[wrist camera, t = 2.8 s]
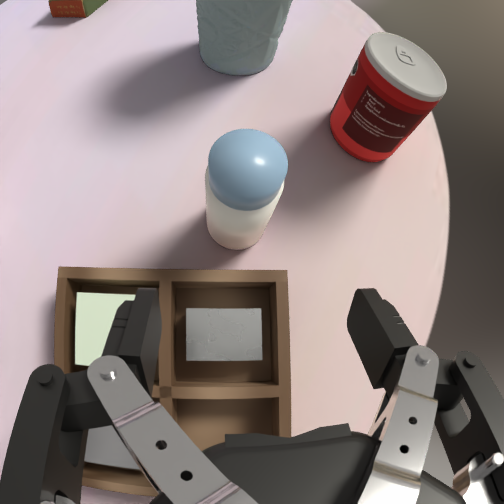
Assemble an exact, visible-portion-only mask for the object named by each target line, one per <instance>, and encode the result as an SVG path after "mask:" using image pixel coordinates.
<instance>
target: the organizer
mask: <svg viewBox="0 0 504 504" xmlns="http://www.w3.org/2000/svg"><path fill="white" fill-rule="evenodd" d="M138 288H157V290H158V295H159V303H160V311H161V319H162V332H161V339H160V345H159V351H158V357H157V364H156V370H155V377H154V384H153V391H152V400H153V401H154V402H155V403H156V402H159V403H160V404H161V405H162V406H163V407H164V408H165V410H166V411H167V412H168V413H169V414H170V416H171V417H172V418H173V419H174V421H175V422H176V423H177V424H178V425H179V427H180V428H181V429H182V430H183V431H184V432H185V434H186V435H187V436H188V437H189V438H190V439H191V440H192V442H193V443H194V444H195V445H196V446H197V447H198V448H199V449H200V450H201V451H203V450H204V449H206V448H209V447H211V446H213V445H216V444H219V443H223V442H225V434H247V433H259V434H266V435H273V436H280V437H289V438H290V437H291V371H290V331H289V302H288V277H287V270H193V269H134V268H92V267H59V268H58V278H57V290H56V305H55V329H54V365H56V366H58V367H60V368H61V369H62V370H63V372H64V374H67V373H74V372H80V371H84V370H87V369H88V367H89V366H86V365H78V364H75V326H76V302H77V292H82V293H103V294H127V295H136V293H137V290H138ZM186 308H209V309H252V308H261V321H262V360H249V361H187V359H186ZM82 485H83V486H87V487H92V488H97V489H103V490H108V491H114V492H121V493H128V494H135V495H144V496H154V497H156V496H157V495H158V492H157V491H156V490H155V489H154V487H153V486H152V485H151V483H150V482H149V481H148V479H147V478H146V477H145V475H144V474H143V472H142V471H141V470H140V469H131V468H123V467H116V466H109V465H103V464H97V463H92V462H86V461H84V468H83V477H82Z"/></svg>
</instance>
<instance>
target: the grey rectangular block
mask: <svg viewBox="0 0 504 504" xmlns="http://www.w3.org/2000/svg"><path fill="white" fill-rule="evenodd" d="M186 359H187V361H249V360H262V321H261V308H252V309H209V308H186Z"/></svg>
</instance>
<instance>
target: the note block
mask: <svg viewBox="0 0 504 504" xmlns="http://www.w3.org/2000/svg"><path fill="white" fill-rule="evenodd" d="M135 296H136V295H127V294H103V293H82V292H77V302H76V326H75V364H78V365H86V366H89V365H90V364H91V363H92V362H93V361H94V360H96V359H97V358H99V357H101V355H102V352H103V349H104V346H105V343H106V340H107V337H108V334H109V331H110V328H111V325H112V322H113V320H114V317H115V314H116V311H117V308H118V307H119V306H120V305H121V304H122V303H123V302H124V301H125V300H132V301H134V299H135Z"/></svg>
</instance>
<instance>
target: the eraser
mask: <svg viewBox="0 0 504 504" xmlns="http://www.w3.org/2000/svg"><path fill="white" fill-rule="evenodd" d="M84 461H86V462H92V463H97V464H103V465H109V466H116V467H123V468H131V469H140V468H139V467H138V465H137V464H136V462H135V461H134V459H133V458H132V456H131V455H130V453H129V452H128V450H127V449H126V447H125V446H124V444H123V443H122V441H121V440H120V438H119V437H118V435H117V433H116V432H115V430H114V429H113V427H112V425H111V426H105V427H99V428H93V429H89V431H88V438H87V445H86V452H85V460H84Z"/></svg>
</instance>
